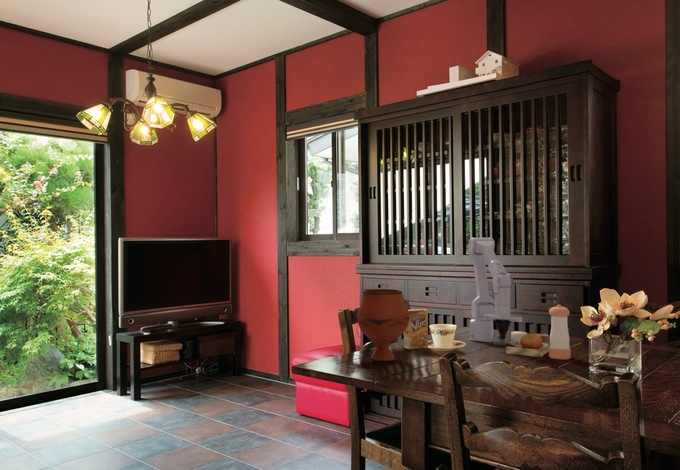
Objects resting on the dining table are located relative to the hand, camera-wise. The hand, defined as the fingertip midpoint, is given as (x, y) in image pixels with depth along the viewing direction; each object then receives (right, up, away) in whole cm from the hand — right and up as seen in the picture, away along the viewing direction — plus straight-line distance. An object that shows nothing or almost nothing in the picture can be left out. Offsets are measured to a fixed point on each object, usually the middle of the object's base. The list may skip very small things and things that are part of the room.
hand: (502, 339), depth 215 cm
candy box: (-34, -4, +2) cm, 34 cm away
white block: (+9, -4, +8) cm, 13 cm away
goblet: (-49, -4, -17) cm, 52 cm away
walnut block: (+16, -4, +2) cm, 17 cm away
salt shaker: (+16, -4, -16) cm, 23 cm away
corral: (+8, -4, -7) cm, 11 cm away
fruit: (+9, -4, -7) cm, 12 cm away
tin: (+1, -4, +9) cm, 9 cm away
